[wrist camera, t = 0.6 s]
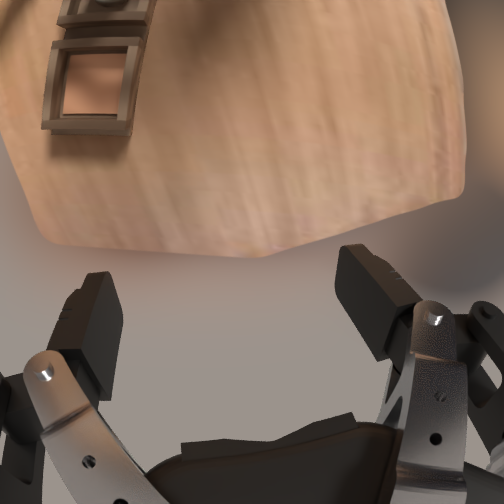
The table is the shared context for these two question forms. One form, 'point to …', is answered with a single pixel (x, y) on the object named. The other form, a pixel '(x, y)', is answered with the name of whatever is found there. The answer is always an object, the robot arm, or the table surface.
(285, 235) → the table surface
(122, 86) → the wooden divided tray
